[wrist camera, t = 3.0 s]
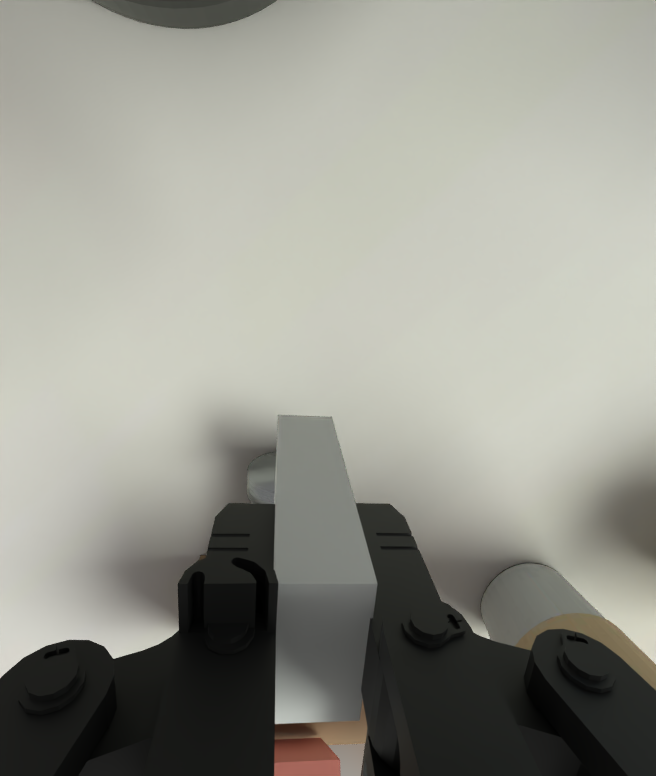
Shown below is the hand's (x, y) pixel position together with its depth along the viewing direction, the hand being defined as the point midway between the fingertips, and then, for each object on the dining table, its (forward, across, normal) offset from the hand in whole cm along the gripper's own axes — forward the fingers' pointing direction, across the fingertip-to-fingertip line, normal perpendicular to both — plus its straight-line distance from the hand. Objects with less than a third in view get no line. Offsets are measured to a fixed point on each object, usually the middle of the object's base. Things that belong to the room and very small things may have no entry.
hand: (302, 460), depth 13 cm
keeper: (+2, 0, -15) cm, 15 cm away
